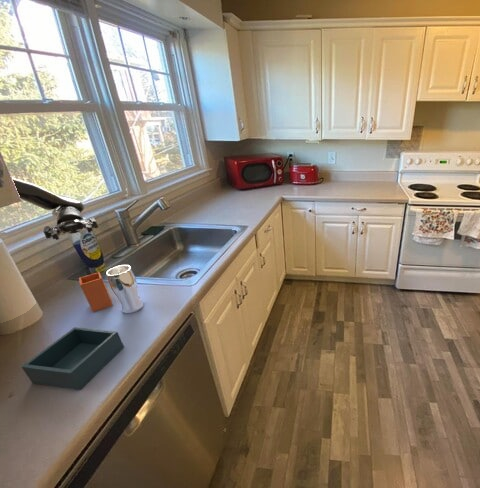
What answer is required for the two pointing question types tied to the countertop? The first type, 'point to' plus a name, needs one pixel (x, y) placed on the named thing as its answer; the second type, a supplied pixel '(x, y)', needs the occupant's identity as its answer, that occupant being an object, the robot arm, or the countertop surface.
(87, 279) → the small bin
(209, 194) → the countertop surface
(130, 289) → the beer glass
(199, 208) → the countertop surface
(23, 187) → the robot arm
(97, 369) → the big bin
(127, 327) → the countertop surface
